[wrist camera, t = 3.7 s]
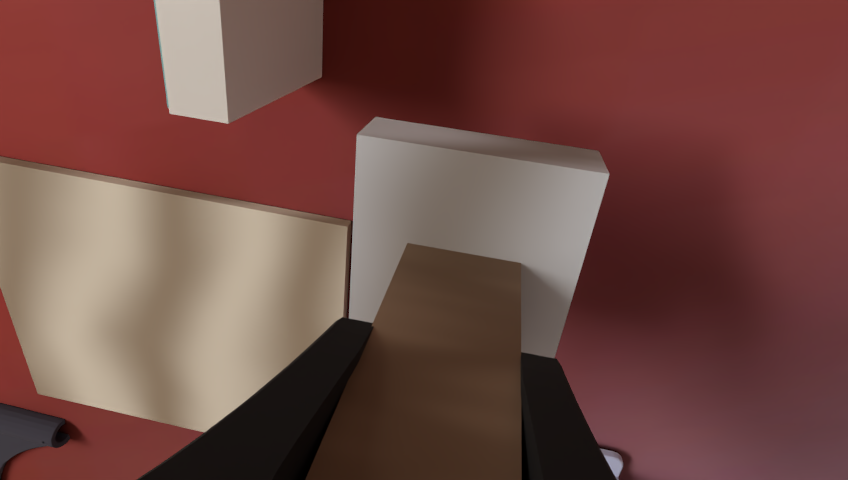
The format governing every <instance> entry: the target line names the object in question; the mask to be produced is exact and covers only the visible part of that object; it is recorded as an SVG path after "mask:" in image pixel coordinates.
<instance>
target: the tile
mask: <svg viewBox="0 0 848 480" xmlns="http://www.w3.org/2000/svg"><path fill="white" fill-rule="evenodd" d="M154 6H155V13H156V21H157V29H158V37H159V44H160V52H161V60H162V67H163V75H164V83H165V90H166V98H167V106H168V108H169V112H170V114H175V115H181V116H187V117H193V118H198V119H204V120H210V121H216V122H222V123H228V124H229V123H231V122H233V121H235V120H237V119H239V118H241V117H243V116H245V115H247V114H249V113H251V112H253V111H255V110H257V109H259V108H261V107H263V106H265V105H267V104H269V103H271V102H273V101H275V100H277V99H279V98H281V97H283V96H285V95H287V94H289V93H291V92H293V91H295V90H297V89H299V88H301V87H303V86H305V85H307V84H309V83H311V82H313V81H315V80H317V79H319V78H321V77H322V44H323V0H154Z"/></svg>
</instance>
